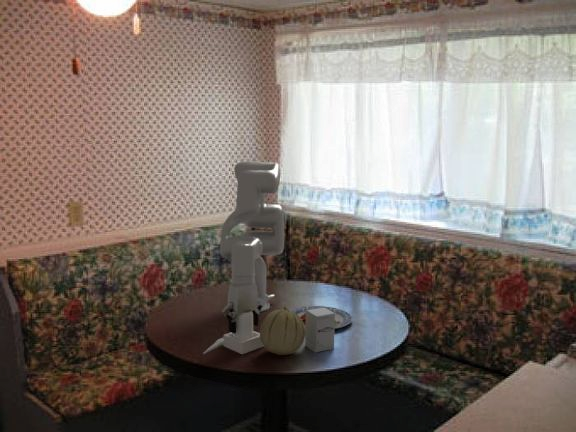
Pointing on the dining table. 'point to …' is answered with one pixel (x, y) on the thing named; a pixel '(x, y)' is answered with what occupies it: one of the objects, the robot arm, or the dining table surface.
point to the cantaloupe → (282, 332)
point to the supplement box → (319, 329)
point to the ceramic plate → (340, 315)
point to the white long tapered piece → (215, 345)
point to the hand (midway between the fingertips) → (243, 328)
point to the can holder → (242, 343)
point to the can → (244, 326)
